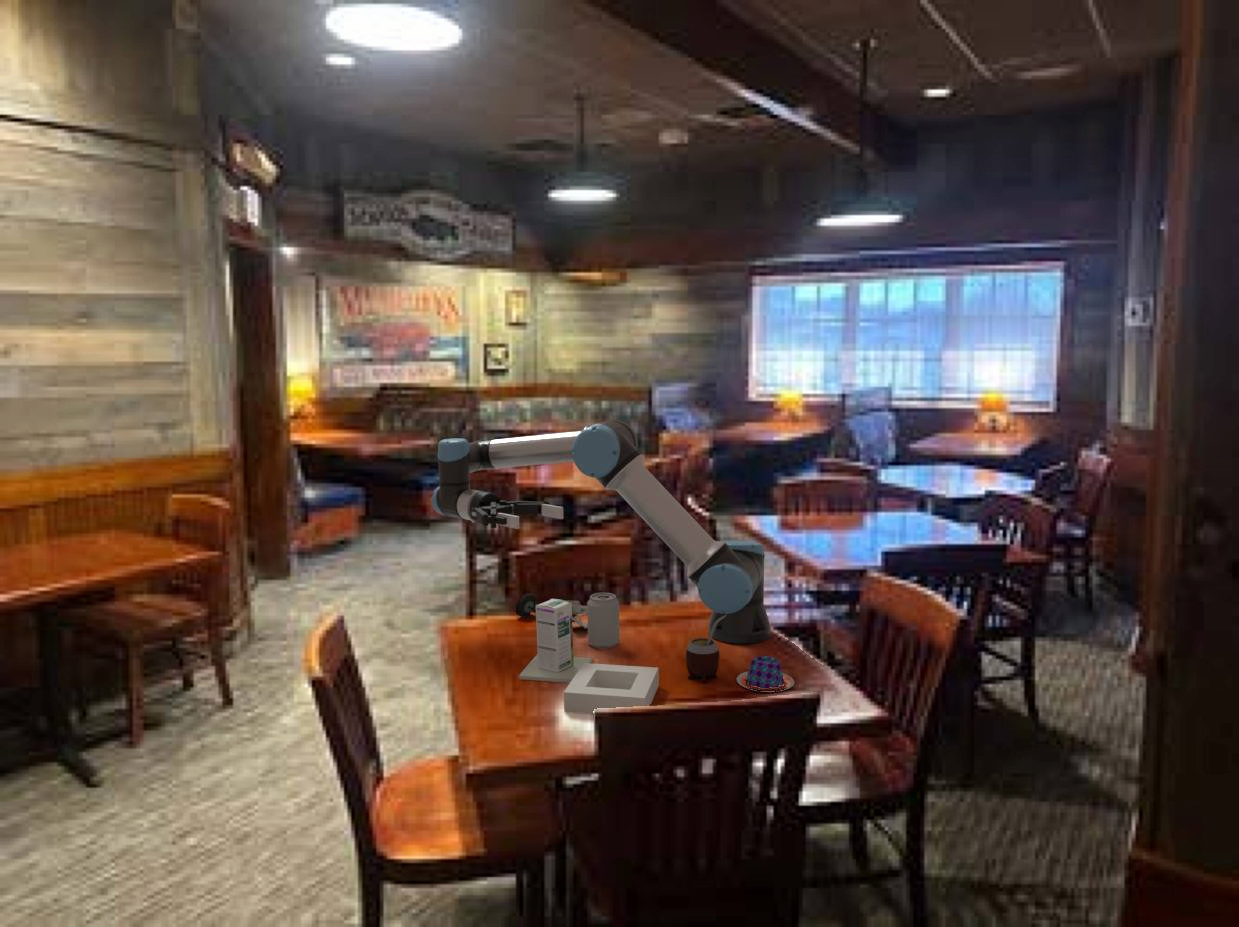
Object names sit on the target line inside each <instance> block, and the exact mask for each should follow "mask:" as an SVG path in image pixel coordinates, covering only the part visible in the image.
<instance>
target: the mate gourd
mask: <svg viewBox="0 0 1239 927" xmlns="http://www.w3.org/2000/svg"><path fill="white" fill-rule="evenodd" d="M726 616H727V615H725V616H723V617H721V618H719V619H718V620H716V621H715V622H714V624H713V626H712V630H711V633H710V635H709V636H708V638H705V637H704V638H703V637H701V638H699V637H698V638H694V639H692V640H691V641H690V642H689V643H688V645H687V647H686V651H685V663H686V669H687V672H688V676H687V678H688V680H701V682H702V683H703V684H704V685H705V684H708V681H707V679H709V678H712V679H717V678H718V675H717V673H718V669H719V664H720V657H721V656H720V651H719V647H718V645H717V643H716V642H715V640H713V638H712V635H713V632H714V630H715V628H716V626H717V623H718V622H719V621H720V620H722V619H723V618H724V617H726Z"/></svg>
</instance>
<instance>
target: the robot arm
mask: <svg viewBox="0 0 1239 927" xmlns="http://www.w3.org/2000/svg"><path fill="white" fill-rule="evenodd" d="M638 443H639V442H638V437H637V435H636V432H635V431H634V429H633V428H632V427H631V425H629V424H628V423H626V422H624V421H622V420H617V419H616V420H614V419H612V420H606V421H602V422H600V423H594V424H591V425H586V426H584V428H583V429H582V430H573V431H564V432H555V433H544V434H543V433H542V434H532V435H524V436H515V437H506V438H496V439H478V440H474V441H472V442H469V441H468V440H467V439H465V438H460V437H459V438H444V439H442V440H440V441H439V442H438V446H437V447H438V448H437V450H438V451H437V462H438V465H437V466H438V479H439V483H438V486H437V487H436V488H435V489H434V490H433V493H432V495H431V498H430V500H431V501H430V503H431V506H432V508H433V510H434V511H435V512H436V513H438V514H440V515H443V516H445V517H448V518H456V519H461V520H467V521H470V522H471V523H472V524H475V523H476V522H477V523H480V524H481V525H482V526H484V527H487V526H489V525H490V528H491V529H497V526H501V527H505V528H511V529H514V530H518V529H520V516H519V515H541V516H542V517H548V518H553V519H558V520H563V519H564V507H563V506H559V505H558V506H557V505H553V504H550V502H549V501H547V500H545V499H544V500H543V501H533V500H532V501H531V500H530V501H528V500H518V499H517V500H516V499H512V500H511V501H507V500H501V498H500V496H498V495H497V494H496V493H493V492H489V491H483V490H478V489H472V488H471V474H472V473H475V472H478V471H482V470H483V471H485V470H493V469H503V468H515V467H525V466H527V467H528V466H537V465H549V464H561V463H572V462H574V465H575V466H576V468H577V469H578V470H579V472H581V474H583V475H585V476H586V477H587V476H588V477H590V478H595V479H596V480H597V481H598V482H599V484H600V485H602V486H603V488H604V489H605V490H609V491H611V490H612V491H615V492H617V493H618V494H619V495H620V496H621V497H622V498H623V499H624V500H625V501H626V502H627V504H628V505H629V506H630V507H631V508H632V509H633V510H634V512H636V513H637V514H638V516H640V517H641V519H642V520H643V521H644V522H645V523H646V524H647V526H649V528H651V530H653V532H654V533H655V534H656V535H657V536H658V537H659V538H660V539H661V540H662V541H663V542H664V544H666V545H667V547H669V548H670V550H671V551H673V553H674V554H675V555H676V556H677V558H678V559H680V560H681V562H682V563H683V564H685V566H686V568H687V570H686V571H687V572H686V573H687V574H686V576H687V578H688V579H689V580H690V581H691V582H692V583H693V584H694V585H695V586H696V587H697V591H698V596H699V599H700V601H701V603H703V605H704V606H706V608H708V609H709V610H711V611H712V612H711V615H710V618H709V621H708V627H707V631H708V635H709V636H710V633H711V630H712V626H713V624H714V622H715V621H716V620H718V619H719V618H721V617H723V616H725V615H727V616H726V617H724V618H723V619H722V620H720V621H719V622H718V623H717V626H716V628H715V630H714V632H713V635H712V638H711V639H714V640H716V641H719V642H723V643H729V644H737V645H738V644H739V645H740V644H741V645H743V644H745V645H746V644H757V643H761V642H763V641H766V640H768V639H770V637H771V636H772V635H771V634H772V633H771V632H772V631H771V622H770V619H769V616H768V613H767V610H766V607H765V603H764V602H765V601H764V596H765V594H764V593H765V592H764V591H765V588H764V587H765V584H764V583H765V579H764V578H765V558H766V554H765V548H764V544H762V543H760V542H757V541H751V540H734V539H733V540H731V539H730V540H715V539H714V538H712V536H711V535H710V534H709V533H708V532H707V531H706V529H704V528H703V527H702V526H701V524H700V523H698V522H697V520H696V519H694V518H693V516H692V515H691V514H690V513H689V512H688V511H687V510H686V509H685V508H684V507H683V505H681V503H680V502H679V501H677V499H676V498H675V497H674V496H673V495H672V494H671V493H670V492H669V491H668V490H667V489H666V488H665V486H664V485H663V484H662V483H661V482H659V480H658V479H657V478H656V477H655V476H654V475H653V474H652V473H651V472H650V471H649V470H648V469H647V467H645V465H644V455H643V454H642V452H640V450H638V446H639V445H638ZM512 512H513V513H512Z"/></svg>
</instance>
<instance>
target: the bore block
mask: <svg viewBox="0 0 1239 927" xmlns="http://www.w3.org/2000/svg"><path fill="white" fill-rule="evenodd" d="M658 689H659V667H650V666H636V665H621V664H607V663H604V664H603V663H593V662H592V663H583V665H582V666H581V668H580V669H579V671H578V672H577V674H576V675H575V677H574V678H573V679H572V681H571V682H570V683H569V684H568V685H567V687H566V688H565V690H563V712H564V713H574V714H589V715H594V714H593V711H594V709H597V708H616V707H633V706H647V705H650V704H651V705H652V702H653V700H654V698H655V697H656V696H655V695H656V694H657V691H658ZM651 705H650V706H651Z"/></svg>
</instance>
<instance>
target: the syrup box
mask: <svg viewBox="0 0 1239 927" xmlns="http://www.w3.org/2000/svg"><path fill="white" fill-rule="evenodd" d="M535 610H536V613H535V623H536V646H537V655H538V667H539V668H541V669H544V670H547V671H552V672H556V673H559V672H560V671H562V670H564V669H566V668H568V667H570V666H572V665H574V657H575V656H574V634H573V633H574V632H573V631H574V630H573V629H574V628H573V622H572V603H571V602H569V601H568V600H564V599H559V598H558V599H557V598H550V599H549V600H547V601H544V602H542V603H539V604H538V605H536V609H535Z"/></svg>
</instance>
